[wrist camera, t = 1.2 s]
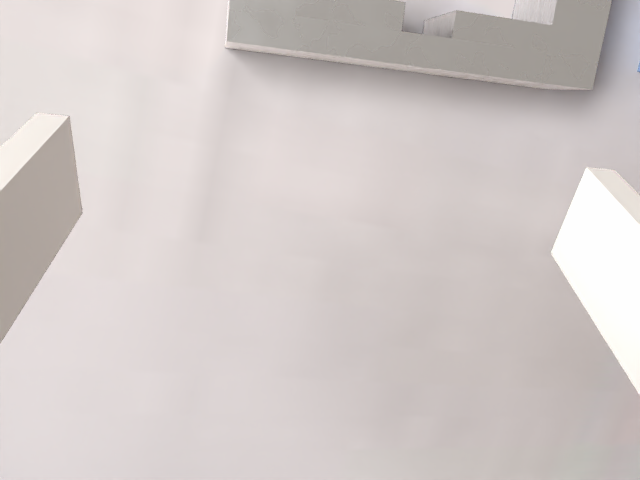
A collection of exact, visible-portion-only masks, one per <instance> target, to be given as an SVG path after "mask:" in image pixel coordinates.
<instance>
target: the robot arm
mask: <svg viewBox="0 0 640 480" xmlns="http://www.w3.org/2000/svg"><path fill="white" fill-rule="evenodd" d="M81 215H82V205H81V198H80V190H79V183H78V176H77V168H76V161H75V153H74V146H73V138H72V131H71V124H70V116H66V115H56V114H46V113H36V114H35V115H34V116H33V117H32V118H31V119H29V120H28V121H27V122H26V123H25V124H24V125H23V126H22V127H21V128H20V129H19V130H18V131H17V132H16V133H15V134H14V135H13V136H11V137H10V138H9V139H8V140H7V141H6V142H5V143H4V144H3V145H2V146H1V147H0V343H1V342H2V340H3V339H4V337H5V335H6V334H7V332H8V331H9V329H10V328H11V326H12V324H13V323H14V321H15V320H16V318H17V316H18V315H19V313H20V312H21V310H22V308H23V307H24V305H25V304H26V302H27V300H28V299H29V297H30V296H31V294H32V293H33V291H34V289H35V288H36V286H37V285H38V283H39V281H40V280H41V278H42V277H43V275H44V273H45V272H46V270H47V269H48V267H49V265H50V264H51V262H52V261H53V259H54V258H55V256H56V254H57V253H58V251H59V250H60V248H61V246H62V245H63V243H64V242H65V240H66V238H67V237H68V235H69V234H70V232H71V230H72V229H73V227H74V226H75V224H76V223H77V221H78V219H79V218H80V216H81ZM551 254H552V256H553V257H554V259H555V261H556V262H557V264H558V265H559V267H560V269H561V270H562V272H563V273H564V275H565V277H566V278H567V280H568V281H569V283H570V285H571V286H572V288H573V289H574V291H575V293H576V294H577V296H578V297H579V299H580V301H581V302H582V304H583V305H584V307H585V309H586V310H587V312H588V313H589V315H590V317H591V318H592V320H593V321H594V323H595V325H596V326H597V328H598V329H599V331H600V333H601V334H602V336H603V337H604V339H605V341H606V342H607V344H608V345H609V347H610V349H611V350H612V352H613V353H614V355H615V357H616V358H617V360H618V361H619V363H620V365H621V366H622V368H623V369H624V371H625V373H626V374H627V376H628V377H629V379H630V381H631V382H632V384H633V385H634V387H635V389H636V390H637V392H638V393H639V395H640V195H639V194H638V193H637V192H636V191H635V190H634V189H633V188H632V187H631V186H630V185H629V184H628V183H627V182H626V181H625V180H624V179H623V178H622V177H621V176H620V175H619V174H618V173H617V172H616V171H615V170H610V169H600V168H590V167H586V170H585V172H584V174H583V177H582V179H581V182H580V184H579V186H578V189H577V191H576V194H575V196H574V198H573V201H572V203H571V206H570V208H569V210H568V213H567V215H566V217H565V220H564V222H563V225H562V227H561V229H560V232H559V234H558V237H557V239H556V241H555V244H554V246H553V249H552V251H551Z"/></svg>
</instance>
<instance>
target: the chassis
mask: <svg viewBox="0 0 640 480" xmlns="http://www.w3.org/2000/svg"><path fill="white" fill-rule="evenodd" d="M405 3H406V2H400V1H393V0H228V7H227V22H226V37H225V48H231V49H239V50H247V51H254V52H262V53H270V54H277V55H285V56H293V57H301V58H308V59H316V60H324V61H331V62H339V63H347V64H354V65H362V66H370V67H377V68H385V69H393V70H401V71H408V72H416V73H424V74H431V75H439V76H447V77H454V78H462V79H470V80H478V81H485V82H493V83H501V84H508V85H516V86H524V87H531V88H539V89H557V90H592V89H593V85H594V80H595V76H596V71H597V67H598V62H599V57H600V53H601V48H602V44H603V39H604V35H605V30H606V25H607V21H608V16H609V12H610V7H611V3H612V0H515V5H514V10H513V16H512V19H509V18H502V17H496V16H489V15H483V14H477V13H470V12H464V11H457V10H456V11H453V12H449V13H446V14H443V15H440V16H437V17H434V18H431V19H427V20H425V21H424V28H423V34H418V33H411V32H404V31H402V25H403V18H404V10H405Z"/></svg>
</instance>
